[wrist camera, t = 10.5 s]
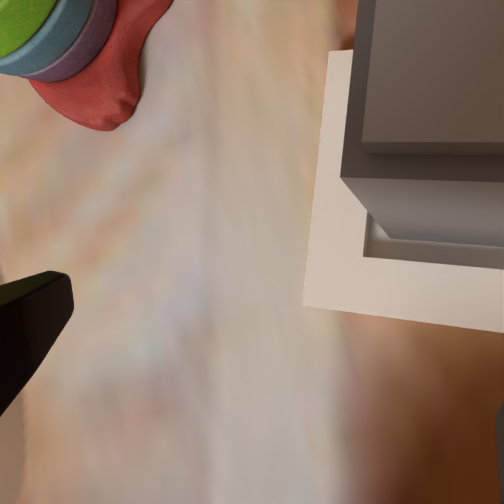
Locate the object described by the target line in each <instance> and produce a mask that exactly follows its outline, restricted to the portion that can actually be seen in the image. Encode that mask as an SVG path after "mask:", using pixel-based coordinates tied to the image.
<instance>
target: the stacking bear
mask: <svg viewBox="0 0 504 504" xmlns="http://www.w3.org/2000/svg"><path fill="white" fill-rule="evenodd" d="M171 1H172V0H0V73H2V74H7V75H14V76H19V77H22V78H26V79H28V80H29V82H30V83H31V85H32V86H33V88H34V89H35V90H36V91H37V93H38V94H39V95H40V96H41V97H42V98H43V99H44V100H45V102H46V103H48V104H49V105H50V106H51V107H52V108H53V109H55V110H56V111H57V112H59V113H60V114H62V115H63V116H65V117H66V118H68V119H70V120H72V121H74V122H76V123H78V124H80V125H82V126H85V127H88V128H91V129H94V130H99V131H111V130H114V129H116V128H117V127H118V126H119V125H120V124H121V123H124V122H126V121H127V120H128V119H129V117H130V116H131V114H132V112H133V109H134V107H135V105H136V103H137V101H138V98H139V91H140V89H139V81H138V58H139V54H140V50H141V47H142V44H143V42H144V39H145V37H146V35H147V33H148V32H149V30H150V28H151V27H152V26H153V25H154V24H155V22H156V21H157V20H158V19H159V18H160V17H161V16H162V15H163V14H164V13H165V11H166V10H167V9H168V7H169V6H170V4H171Z"/></svg>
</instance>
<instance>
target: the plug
mask: <svg viewBox="0 0 504 504" xmlns="http://www.w3.org/2000/svg"><path fill="white" fill-rule="evenodd" d="M340 178H341V179H342V181H343V182H344V183H345V184H346V185H347V187H348V188H349V189H350V190H351V192H352V193H353V194H354V195H355V196H356V198H357V199H358V200H359V201H360V202H361V204H362V205H363V206H364V207H365V208H366V210H367V211H368V212H369V213H370V215H371V216H372V217H373V218H374V219H375V221H376V222H377V223H378V224H379V225H380V227H381V228H382V229H383V230H384V231H385V233H386V234H387V235H388V236H389V238H390V239H403V240H416V241H429V242H441V243H454V244H467V245H480V246H493V247H504V0H359V1H358V10H357V19H356V29H355V38H354V48H353V57H352V67H351V76H350V86H349V95H348V104H347V114H346V123H345V133H344V142H343V152H342V161H341V171H340Z"/></svg>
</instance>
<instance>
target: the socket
mask: <svg viewBox="0 0 504 504" xmlns="http://www.w3.org/2000/svg"><path fill="white" fill-rule="evenodd" d="M352 57H353V50H341V51H329V58H328V68H327V77H326V86H325V96H324V105H323V115H322V124H321V133H320V143H319V152H318V161H317V171H316V180H315V190H314V199H313V208H312V218H311V227H310V237H309V246H308V255H307V265H306V274H305V284H304V293H303V302H302V306H310V307H317V308H324V309H331V310H339V311H346V312H353V313H361V314H368V315H375V316H383V317H390V318H397V319H405V320H412V321H419V322H426V323H434V324H441V325H448V326H456V327H463V328H470V329H478V330H485V331H492V332H500V333H504V247H493V246H480V245H467V244H454V243H441V242H429V241H416V240H403V239H390V238H389V236H388V235H387V234H386V233H385V231H384V230H383V229H382V228H381V227H380V225H379V224H378V223H377V222H376V221H375V219H374V218H373V217H372V216H371V215H370V213H369V212H368V211H367V210H366V208H365V207H364V206H363V205H362V204H361V202H360V201H359V200H358V199H357V198H356V196H355V195H354V194H353V193H352V192H351V190H350V189H349V188H348V187H347V185H346V184H345V183H344V182H343V181H342V179H341V178H340V171H341V161H342V152H343V142H344V133H345V123H346V114H347V104H348V95H349V86H350V76H351V67H352Z"/></svg>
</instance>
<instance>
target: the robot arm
mask: <svg viewBox="0 0 504 504" xmlns="http://www.w3.org/2000/svg"><path fill="white" fill-rule="evenodd" d="M73 310H74V300H73V292H72V285H71V279H70V277H69V276H68V275H67V274H65V273H61V272H57V271H46V272H43V273H39V274H36V275H33V276H29V277H26V278H23V279H20V280H16V281H13V282H10V283H6V284H3V285H0V417H1V415H2V414H3V413H4V411H5V410H6V409H7V408H8V406H9V405H10V404H11V403H12V401H13V400H14V399H15V398H16V396H17V395H18V394H19V393H20V391H21V390H22V389H23V388H24V386H25V385H26V384H27V382H28V381H29V380H30V378H31V377H32V376H33V374H34V373H35V372H36V370H37V369H38V367H39V366H40V364H41V363H42V361H43V360H44V358H45V357H46V355H47V354H48V352H49V350H50V349H51V347H52V346H53V344H54V343H55V341H56V339H57V338H58V336H59V335H60V333H61V332H62V330H63V328H64V327H65V325H66V324H67V322H68V321H69V319H70V317H71V316H72V313H73ZM496 439H497V456H498V473H499V490H500V502H501V504H504V400H503V402H502V404H501V406H500V408H499V410H498V412H497V416H496Z"/></svg>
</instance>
